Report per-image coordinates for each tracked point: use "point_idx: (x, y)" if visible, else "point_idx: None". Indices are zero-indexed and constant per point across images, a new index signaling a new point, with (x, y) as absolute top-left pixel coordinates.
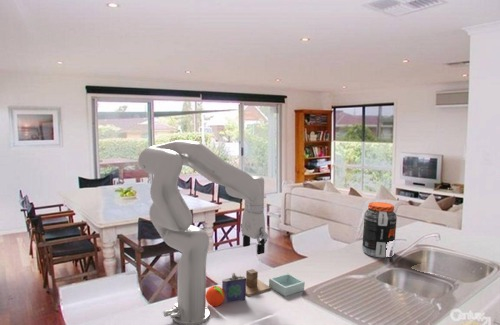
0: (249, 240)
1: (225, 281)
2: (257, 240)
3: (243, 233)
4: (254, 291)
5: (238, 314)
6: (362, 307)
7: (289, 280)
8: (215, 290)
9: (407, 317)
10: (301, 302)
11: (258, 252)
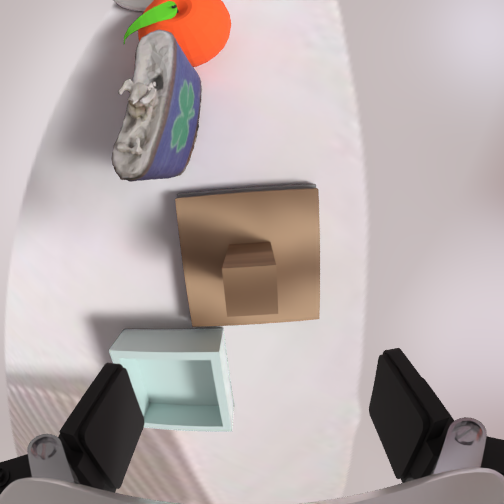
0: (387, 443)
1: (140, 41)
2: (62, 478)
3: (431, 484)
4: (188, 241)
5: (88, 104)
6: (49, 429)
7: (213, 411)
8: (153, 5)
9: (20, 441)
10: (85, 351)
11: (102, 378)
